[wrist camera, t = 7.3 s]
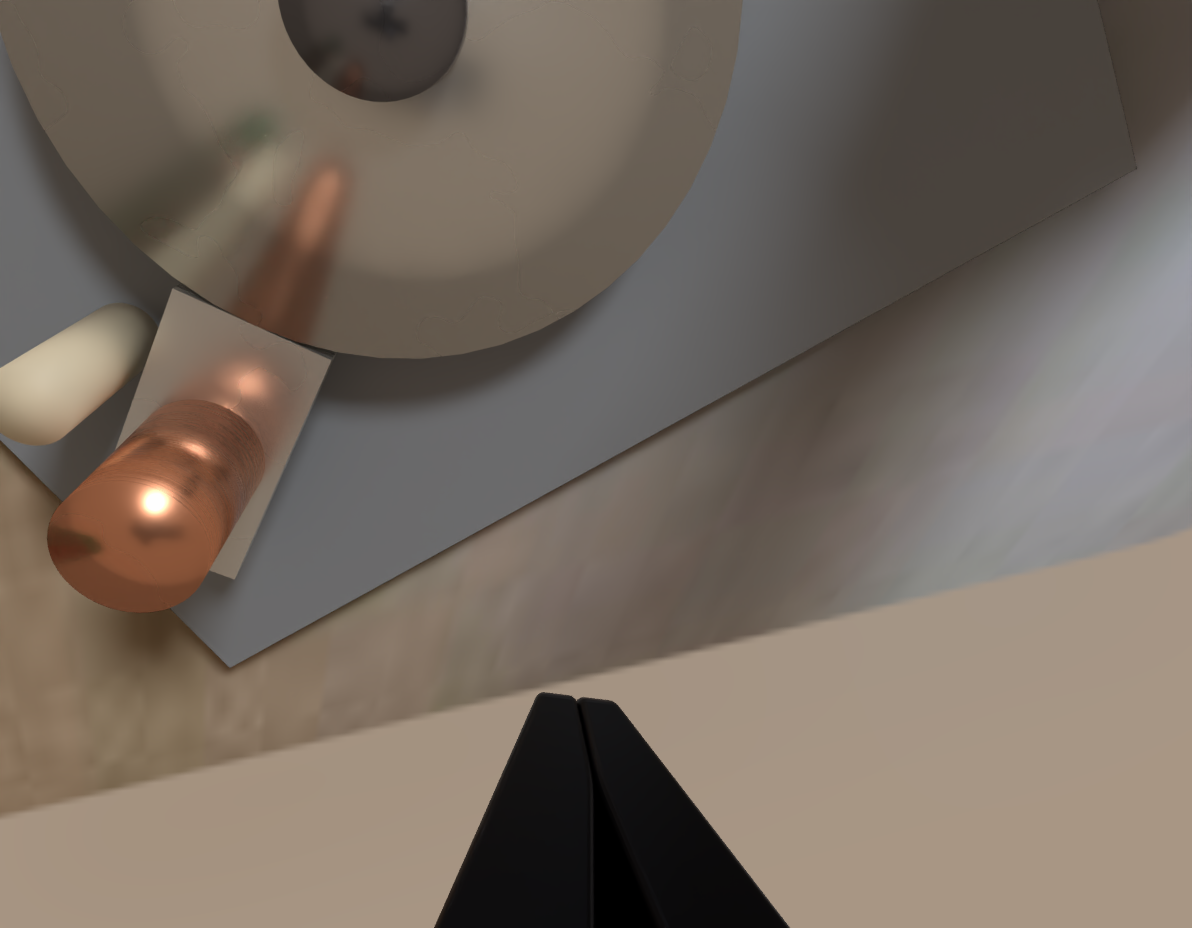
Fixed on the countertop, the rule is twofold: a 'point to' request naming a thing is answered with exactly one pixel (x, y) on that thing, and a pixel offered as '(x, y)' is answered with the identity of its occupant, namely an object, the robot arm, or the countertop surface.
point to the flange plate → (343, 213)
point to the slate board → (613, 317)
